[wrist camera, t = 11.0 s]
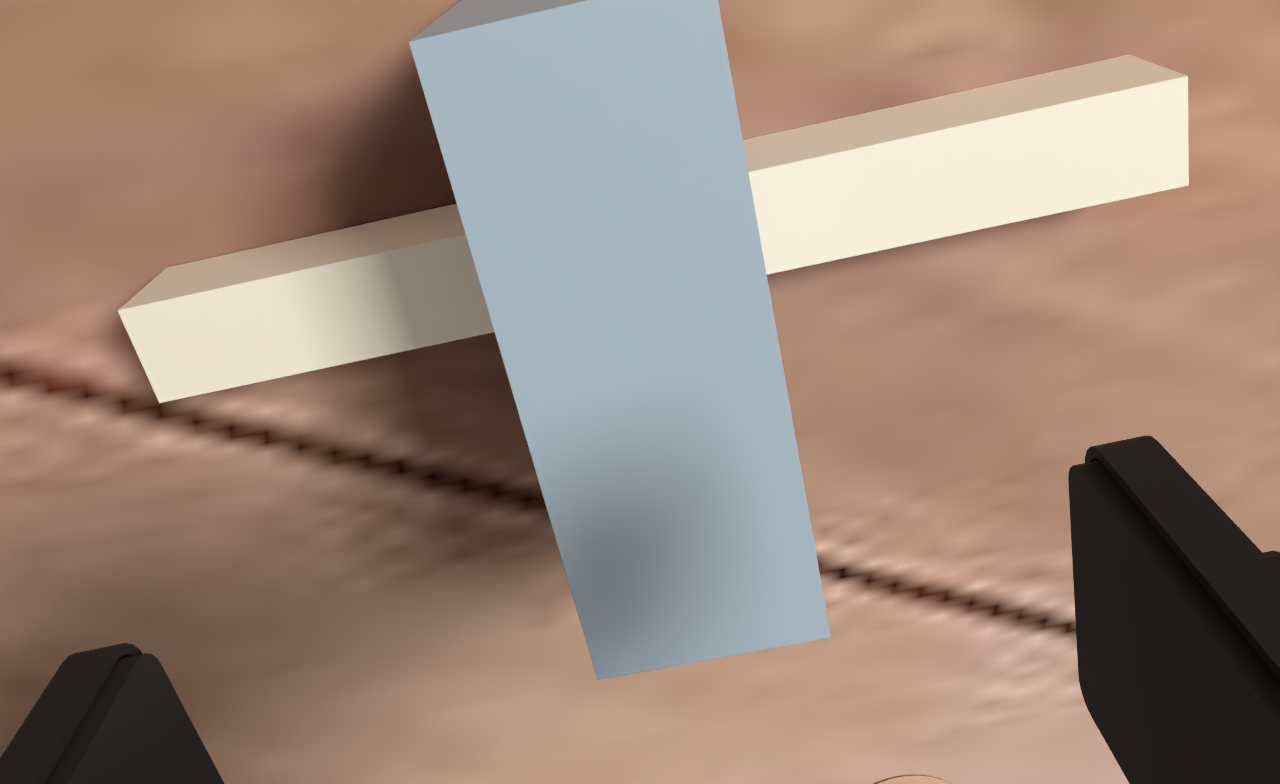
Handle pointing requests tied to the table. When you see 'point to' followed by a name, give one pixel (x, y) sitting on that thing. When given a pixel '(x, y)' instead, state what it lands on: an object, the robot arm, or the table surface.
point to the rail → (783, 199)
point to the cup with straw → (914, 780)
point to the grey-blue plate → (631, 316)
